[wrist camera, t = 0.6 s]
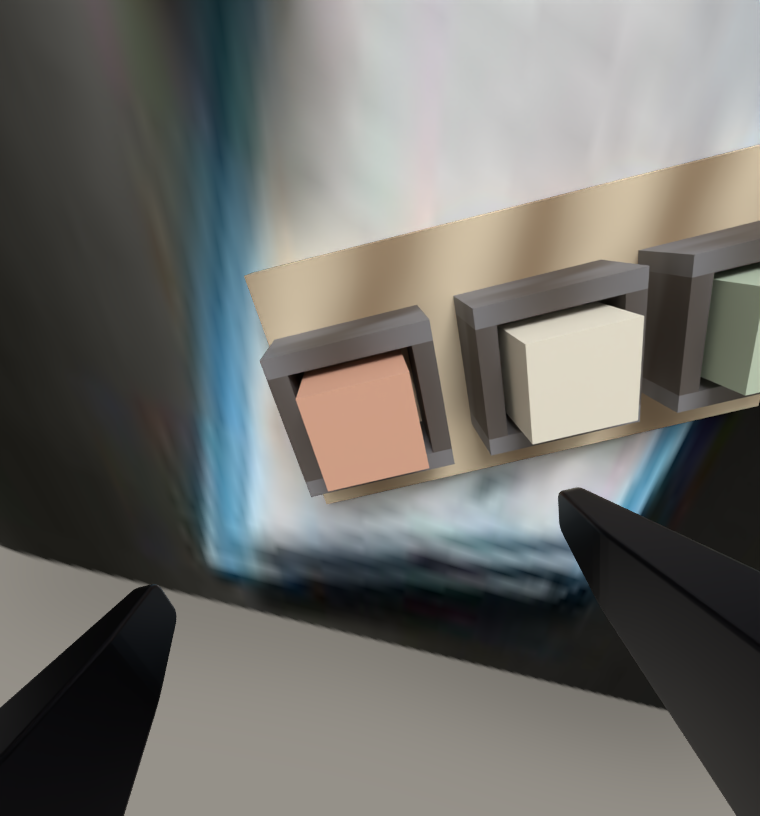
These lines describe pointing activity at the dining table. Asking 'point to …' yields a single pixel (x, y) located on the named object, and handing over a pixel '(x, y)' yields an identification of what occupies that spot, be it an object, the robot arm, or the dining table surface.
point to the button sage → (734, 330)
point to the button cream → (572, 370)
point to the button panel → (518, 307)
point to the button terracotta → (362, 420)
